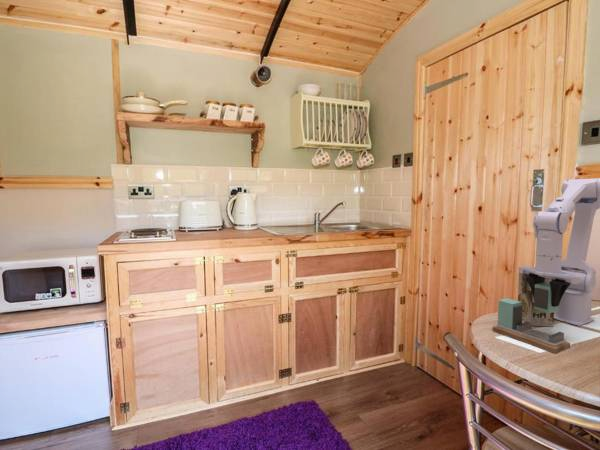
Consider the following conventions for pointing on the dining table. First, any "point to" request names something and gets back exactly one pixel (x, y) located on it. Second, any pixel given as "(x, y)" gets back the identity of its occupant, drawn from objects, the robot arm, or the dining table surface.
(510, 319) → the rail
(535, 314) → the coffee box
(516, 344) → the dining table surface
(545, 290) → the teal rectangular block
